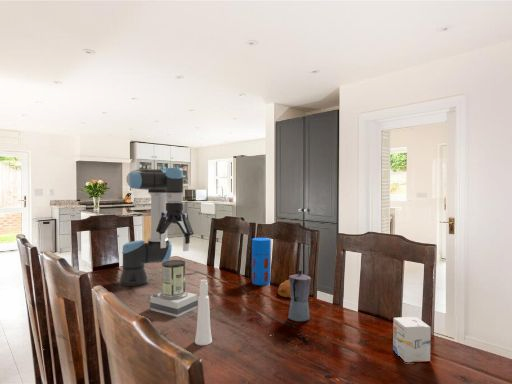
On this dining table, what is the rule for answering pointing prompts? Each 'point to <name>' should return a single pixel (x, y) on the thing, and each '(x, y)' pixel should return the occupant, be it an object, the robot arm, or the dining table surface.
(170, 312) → the kitchen scale
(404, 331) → the ink box
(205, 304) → the cosmetic bottle
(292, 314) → the moka pot
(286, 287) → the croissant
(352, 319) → the dining table surface
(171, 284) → the coffee can
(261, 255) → the thermos
